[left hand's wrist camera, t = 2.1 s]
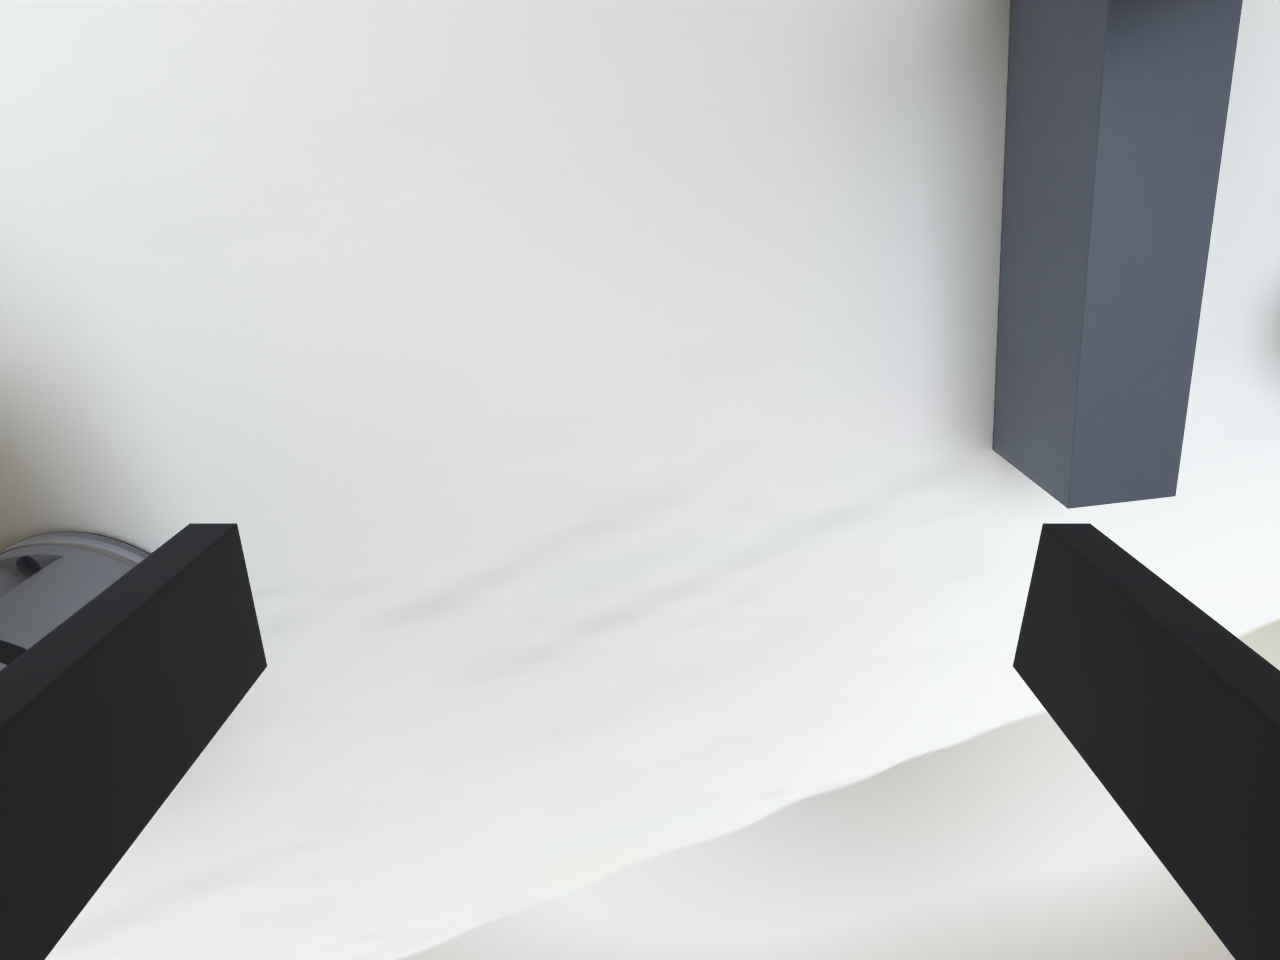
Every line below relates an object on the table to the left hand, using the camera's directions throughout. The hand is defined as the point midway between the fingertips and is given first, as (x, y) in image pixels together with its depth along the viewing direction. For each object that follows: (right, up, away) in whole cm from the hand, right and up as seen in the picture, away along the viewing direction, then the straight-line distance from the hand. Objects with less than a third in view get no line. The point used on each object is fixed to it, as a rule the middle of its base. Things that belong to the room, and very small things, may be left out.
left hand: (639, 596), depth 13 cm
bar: (+21, +17, +27) cm, 38 cm away
